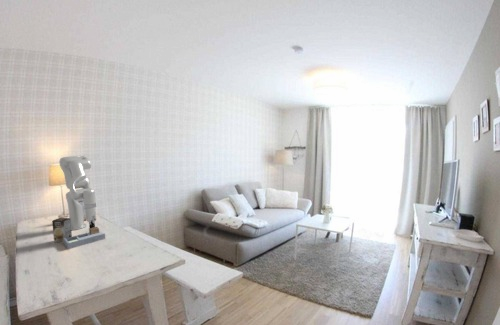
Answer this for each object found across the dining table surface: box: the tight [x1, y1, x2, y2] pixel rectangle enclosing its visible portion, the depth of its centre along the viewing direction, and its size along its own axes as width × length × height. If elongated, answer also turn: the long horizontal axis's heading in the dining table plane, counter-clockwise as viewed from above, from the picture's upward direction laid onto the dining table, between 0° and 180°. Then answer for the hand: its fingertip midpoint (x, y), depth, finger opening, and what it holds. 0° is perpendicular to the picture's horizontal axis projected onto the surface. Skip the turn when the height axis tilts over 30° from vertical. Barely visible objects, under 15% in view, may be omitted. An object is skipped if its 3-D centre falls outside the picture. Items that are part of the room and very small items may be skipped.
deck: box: [62, 230, 106, 250], centre depth 171 cm, size 16×22×4 cm
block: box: [88, 226, 100, 235], centre depth 178 cm, size 5×5×4 cm
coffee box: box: [51, 217, 73, 243], centre depth 172 cm, size 9×6×16 cm
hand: (92, 229), depth 181 cm, fingers closed
